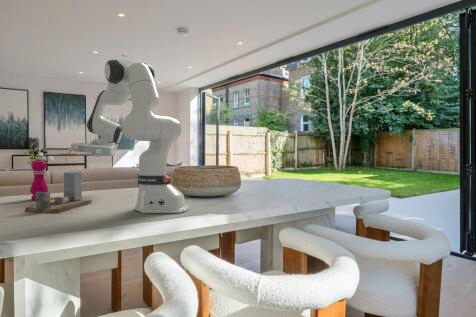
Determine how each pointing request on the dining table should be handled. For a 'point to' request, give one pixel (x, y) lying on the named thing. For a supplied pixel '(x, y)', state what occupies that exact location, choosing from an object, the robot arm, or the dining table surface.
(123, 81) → the robot arm
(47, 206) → the gauge bench
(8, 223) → the dining table surface
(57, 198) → the wood and grey stick
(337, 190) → the dining table surface
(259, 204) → the dining table surface
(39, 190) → the pepper mill
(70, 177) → the brushed steel block
